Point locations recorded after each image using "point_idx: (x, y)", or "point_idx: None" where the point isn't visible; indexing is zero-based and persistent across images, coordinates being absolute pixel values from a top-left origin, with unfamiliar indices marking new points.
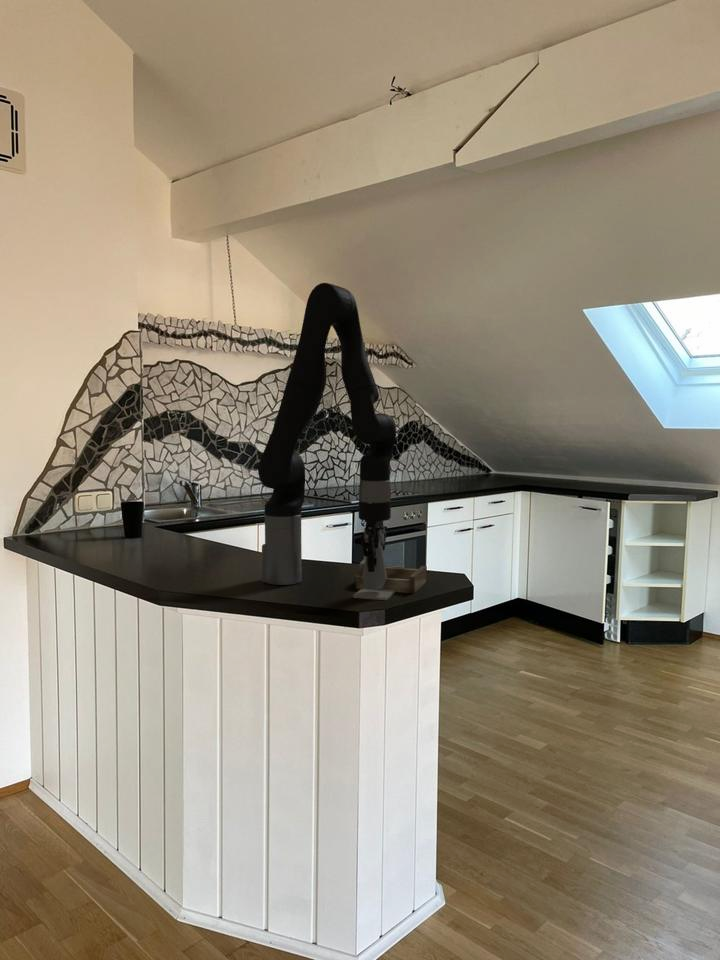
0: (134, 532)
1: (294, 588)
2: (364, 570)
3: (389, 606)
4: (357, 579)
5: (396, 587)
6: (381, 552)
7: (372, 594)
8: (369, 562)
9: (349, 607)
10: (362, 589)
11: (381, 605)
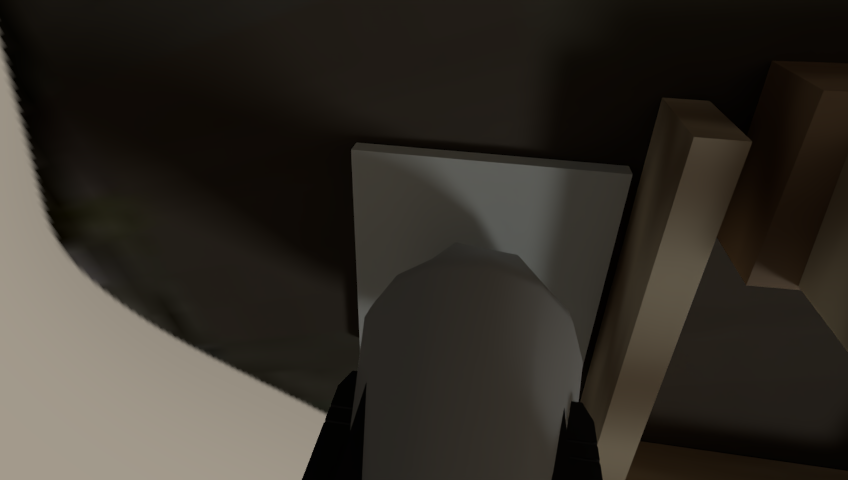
0: None
1: None
2: (398, 334)
3: (254, 363)
4: (683, 140)
5: (592, 396)
6: None
7: None
8: (315, 461)
9: (120, 174)
10: (552, 181)
11: (253, 328)
